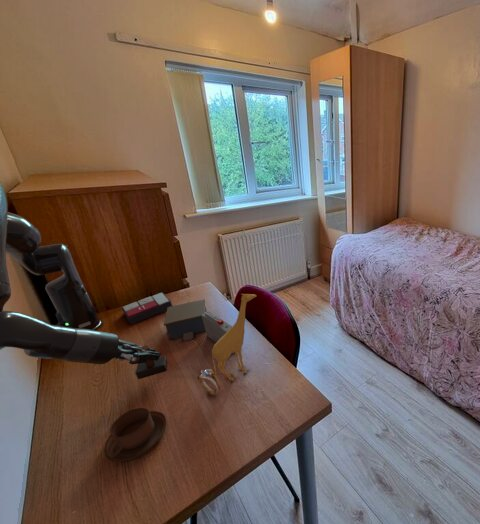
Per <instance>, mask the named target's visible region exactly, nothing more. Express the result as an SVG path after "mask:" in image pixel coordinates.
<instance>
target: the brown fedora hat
mask: <svg viewBox="0 0 480 524" xmlns="http://www.w3.org/2000/svg"><path fill="white" fill-rule="evenodd" d="M166 428H167V418H166V416H165V414H164V413H162V412H160V411H155V410H150V411H149V409H147V408H146V407H136V408H133V409H130V410H127V411H126V412H124V413H123V414H121V415H120V416H119V417H117V419H116V420H115V421H114V422H113V423H112V425H111V427H110V430H109V431H110V435H109V437H108V438H107V439H106V441H105V443H104V447H103V453H104V456H105V458H107V459H108V460H110V461H112V462H115V463H118V462H120V463H121V462H127V461H130V460H133V459H135V458H137V457H139V456H141V455H143V454H144V453H146V452H147V451H149V450H150V449H151V448H152V447H154V446H155V444H156V443H158V441H159V440H160V439H161V438H162V436H163V434H164V433H165V430H166Z"/></svg>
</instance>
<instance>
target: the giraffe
mask: <svg viewBox="0 0 480 524" xmlns="http://www.w3.org/2000/svg"><path fill="white" fill-rule="evenodd" d="M240 295H241V297H240V300H241V301H240V306H239V307H240V308H239V312H238V315H237V318H236V321H235V323H234V324H233V325H232V326H233V327H232V328H231V329H230V330H229V331H228V332H227V333H226V334H225V335H223V336H222V337H221V338H220V339H219V340H218V342H217V343H216V342H215V343H214V345H212V346H213V347H212V348H211V354H212V356H211V357H212V364H213V368H212V370H213V373H214V374H215V375H216V376H218V372H217V369H218V370H220V371H221V372H222V374H224V376H225V378H228V381H231V382H234V381H235V378H234V377H232V375H231V374H229V373H227V371H226V369H225V365H226V363H227V360H228V359H229V357H230V356H231V355H232V354H231V353H232V352H234V351H235V352H234V357H235V359H236V362H237V368H238V369H239V370H240V371H242V372H243V374H246V373H248V371H247V370H246V369H245V365H244V362H243V354H242V348H243V346H244V339H245V326H246V308H247V303H248V302H250V301H251V300H253V299H255V298H256V297H257V294H254V293H252V294H251V293H240ZM214 359H215V360H217V366H216V365H215V360H214Z"/></svg>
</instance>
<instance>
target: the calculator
mask: <svg viewBox="0 0 480 524" xmlns="http://www.w3.org/2000/svg"><path fill="white" fill-rule="evenodd" d="M171 306H173V304H172V302H171V300H170V298H168V296H167V295H166V294H165V293H164V292H159V293H155V294H154V295H152V296H148V297H147V296H146V297H145V298H142V299H140V300H138V301H134V302H132V303H129V304H127V305H124V306H122V308H121V309H122V312H123V314H124V316H125V318H126V319H127V321H128V323H129V325H134V324H136V323H139V322H141V321H143V320H145V319H148V318H150V317H153V316H155V315H158V314H160V313H166V312H167V308H168V307H171Z"/></svg>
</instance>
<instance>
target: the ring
mask: <svg viewBox="0 0 480 524" xmlns="http://www.w3.org/2000/svg"><path fill="white" fill-rule="evenodd" d="M196 379H197V380H198V382H199V383H200V385H201V386H202V388H203V389H204V390H206V391H207V392H208V393H209V394H210V395H213V396H215V395H217V394H218V393H219V392H220V390H221V383H220V381H219V378H218V376H217V375H216V374H215V372H214V370H213V369H211V368H204V370H203V369H201V370H200V374H198V376H197V378H196ZM205 380H207V381H209V382H211V384H212V385H213V386H214V388H215V390H214V389H213V388H211V387H210V386H208V384H207V382H206V381H205Z"/></svg>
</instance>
